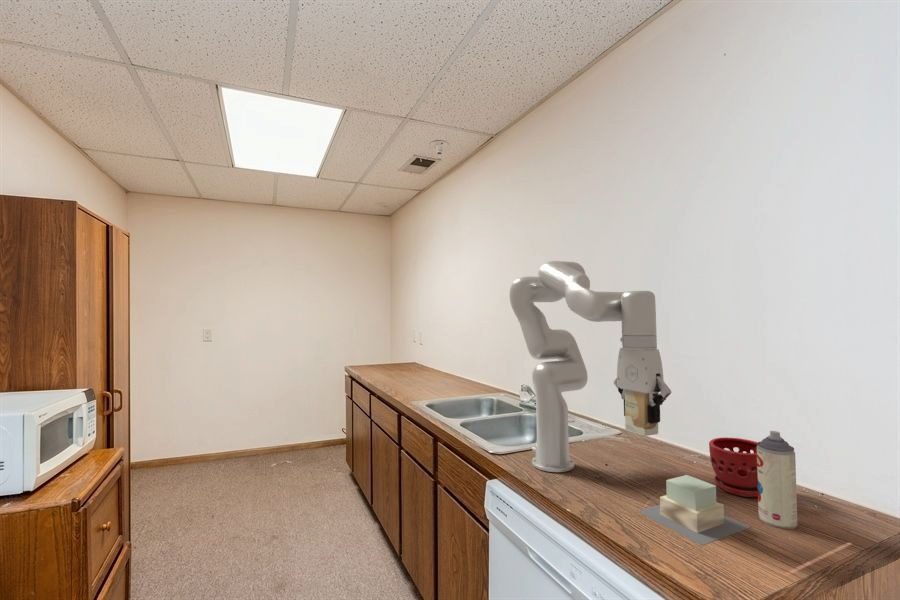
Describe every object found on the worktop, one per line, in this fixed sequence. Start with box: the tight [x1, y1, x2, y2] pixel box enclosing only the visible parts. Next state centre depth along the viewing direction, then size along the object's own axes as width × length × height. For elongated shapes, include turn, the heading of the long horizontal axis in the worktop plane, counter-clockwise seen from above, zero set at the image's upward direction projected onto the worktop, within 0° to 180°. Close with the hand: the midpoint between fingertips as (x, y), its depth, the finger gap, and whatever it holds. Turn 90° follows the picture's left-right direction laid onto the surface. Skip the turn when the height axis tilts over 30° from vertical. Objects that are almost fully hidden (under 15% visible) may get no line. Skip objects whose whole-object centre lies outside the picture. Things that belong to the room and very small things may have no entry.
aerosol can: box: [757, 430, 798, 530], centre depth 94 cm, size 7×7×20 cm
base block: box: [659, 494, 725, 533], centre depth 95 cm, size 9×9×4 cm
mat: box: [636, 503, 751, 546], centre depth 95 cm, size 16×16×1 cm
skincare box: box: [624, 385, 659, 437], centre depth 100 cm, size 6×4×12 cm
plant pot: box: [708, 437, 759, 498], centre depth 111 cm, size 13×13×12 cm
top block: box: [665, 474, 717, 511], centre depth 95 cm, size 7×7×4 cm
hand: (641, 418), depth 100 cm, fingers closed on skincare box, 6 cm apart
